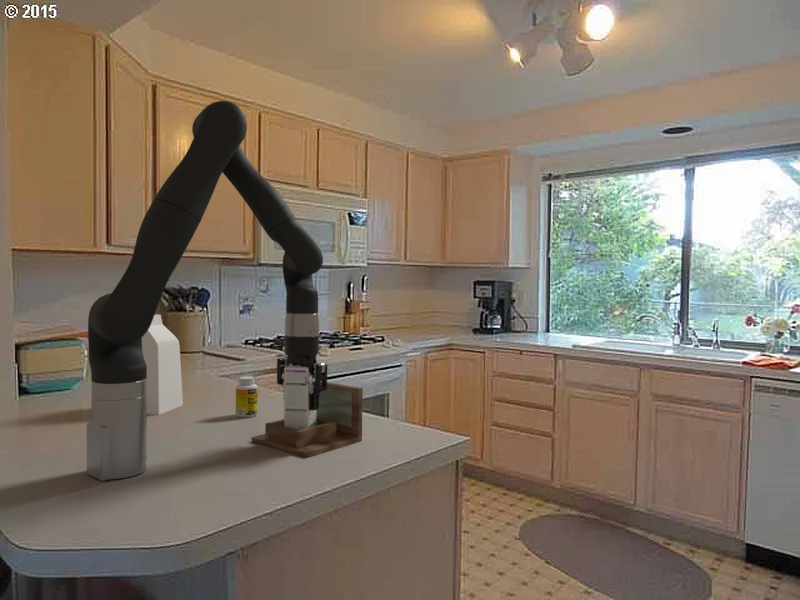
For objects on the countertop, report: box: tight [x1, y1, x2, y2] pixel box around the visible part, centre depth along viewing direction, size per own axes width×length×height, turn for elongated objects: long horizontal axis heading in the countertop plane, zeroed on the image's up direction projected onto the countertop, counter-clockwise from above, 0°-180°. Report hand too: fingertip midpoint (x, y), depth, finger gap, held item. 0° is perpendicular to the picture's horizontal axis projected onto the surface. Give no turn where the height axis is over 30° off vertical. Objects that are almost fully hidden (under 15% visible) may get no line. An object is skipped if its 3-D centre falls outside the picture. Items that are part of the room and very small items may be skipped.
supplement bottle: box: [235, 375, 258, 419], centre depth 152 cm, size 6×6×10 cm
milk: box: [142, 314, 184, 416], centre depth 158 cm, size 12×12×26 cm
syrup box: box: [283, 365, 317, 430], centre depth 127 cm, size 6×6×14 cm
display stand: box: [251, 380, 364, 459], centre depth 129 cm, size 17×18×12 cm
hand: (301, 407), depth 127 cm, fingers closed on syrup box, 7 cm apart
